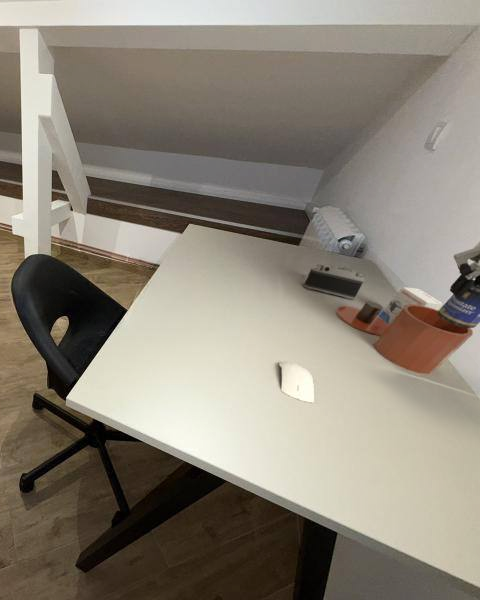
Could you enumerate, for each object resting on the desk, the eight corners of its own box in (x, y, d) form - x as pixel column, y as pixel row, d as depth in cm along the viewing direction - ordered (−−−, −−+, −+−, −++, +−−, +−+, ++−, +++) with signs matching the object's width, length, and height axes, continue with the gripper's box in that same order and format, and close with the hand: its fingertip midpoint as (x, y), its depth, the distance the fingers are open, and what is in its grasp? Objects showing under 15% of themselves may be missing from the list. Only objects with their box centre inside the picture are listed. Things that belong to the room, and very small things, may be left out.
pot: (420, 351, 86) (456, 314, 79) (441, 382, 76) (484, 342, 69) (367, 336, 90) (396, 299, 83) (380, 363, 80) (415, 324, 73)
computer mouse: (280, 393, 69) (285, 386, 67) (276, 359, 78) (281, 352, 77) (315, 405, 67) (321, 398, 65) (307, 369, 76) (312, 362, 75)
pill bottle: (429, 313, 70) (466, 270, 64) (447, 311, 71) (485, 268, 65) (462, 330, 65) (507, 285, 59) (481, 327, 66) (526, 283, 60)
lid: (380, 318, 99) (394, 301, 95) (396, 343, 88) (412, 324, 85) (331, 304, 103) (342, 287, 100) (340, 327, 93) (353, 308, 89)
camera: (345, 295, 113) (358, 269, 110) (355, 301, 105) (370, 273, 102) (297, 283, 118) (308, 258, 114) (304, 288, 110) (316, 261, 107)
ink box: (376, 317, 99) (401, 286, 93) (391, 318, 100) (417, 287, 93) (399, 334, 92) (427, 302, 86) (415, 336, 92) (444, 303, 86)
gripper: (606, 219, 55) (518, 302, 65) (479, 200, 61) (416, 279, 71) (648, 232, 49) (545, 321, 59) (504, 209, 55) (431, 294, 65)
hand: (476, 297), depth 65 cm, fingers closed on pill bottle, 6 cm apart
